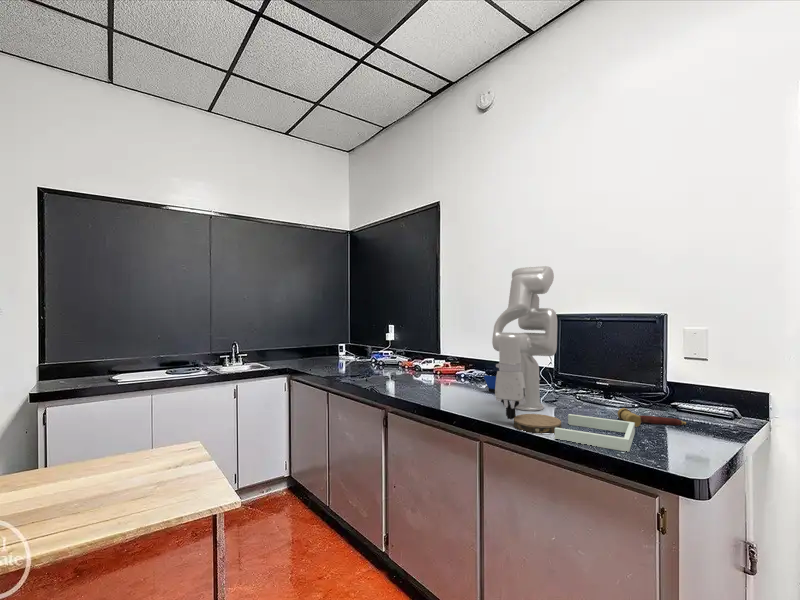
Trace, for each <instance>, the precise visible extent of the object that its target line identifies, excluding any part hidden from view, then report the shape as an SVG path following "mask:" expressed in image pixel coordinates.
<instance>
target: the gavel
mask: <svg viewBox="0 0 800 600" xmlns="http://www.w3.org/2000/svg"><path fill="white" fill-rule="evenodd" d="M617 417H618V419H619V420H620V421H627V422H635V428H638V427H640V426H641V424H642V423H645V424H654V425H663V424H666V425H667V426H682V425H687V422H686V421H683V420H681V419H678V418H675V417H674V418H672V417H664V416H663V417H662V416H653V415H642V414H641V415H637V414H635V413H633V412H632V411H631V410H630V409H628V408H626V407H622V408H620V409H618V410H617ZM666 425H665V426H666Z"/></svg>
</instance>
